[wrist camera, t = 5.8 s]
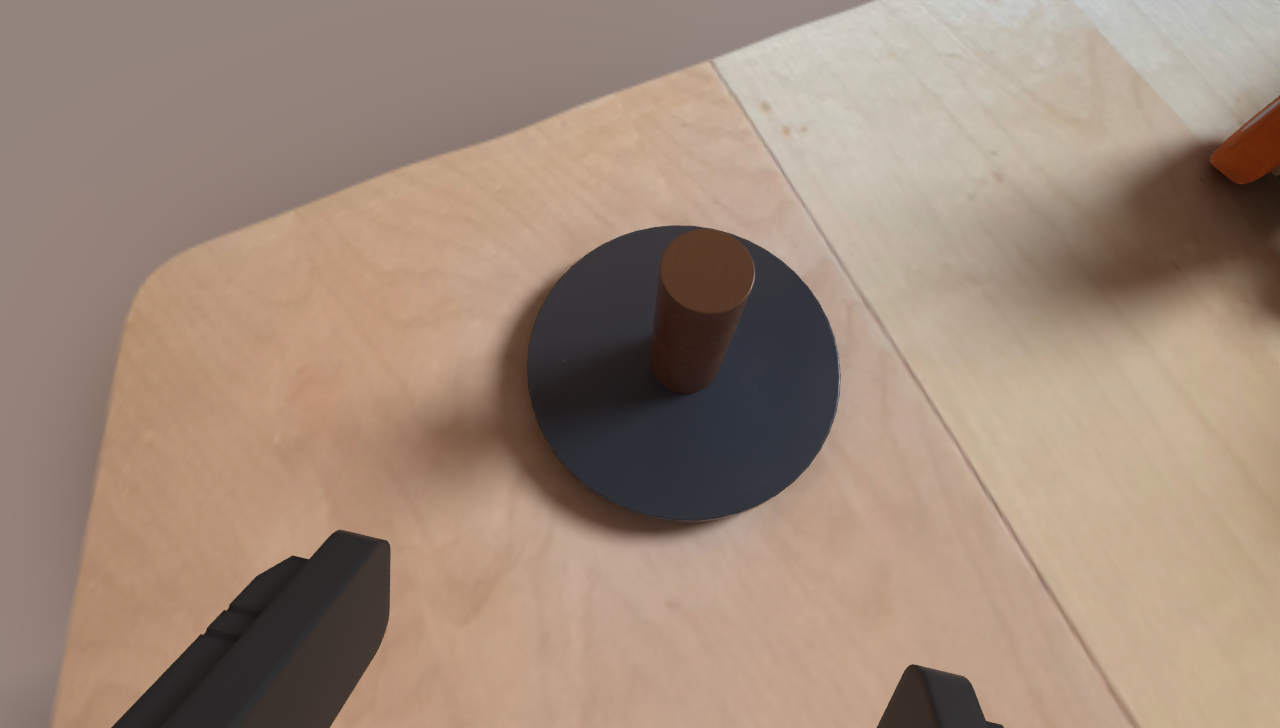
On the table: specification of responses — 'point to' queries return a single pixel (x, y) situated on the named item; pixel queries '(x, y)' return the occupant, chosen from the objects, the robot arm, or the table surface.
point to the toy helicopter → (1252, 148)
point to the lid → (683, 373)
